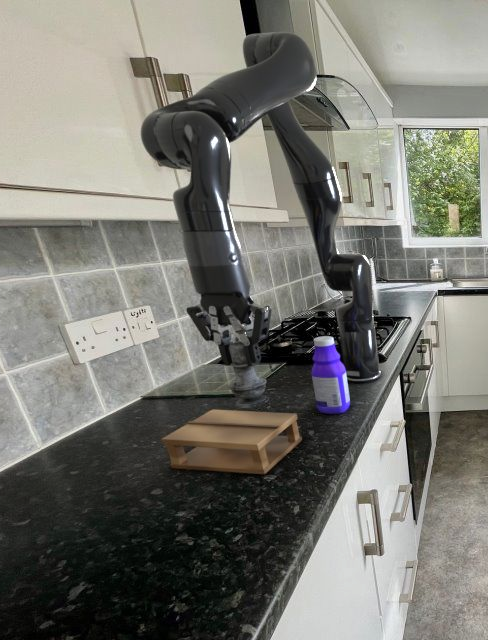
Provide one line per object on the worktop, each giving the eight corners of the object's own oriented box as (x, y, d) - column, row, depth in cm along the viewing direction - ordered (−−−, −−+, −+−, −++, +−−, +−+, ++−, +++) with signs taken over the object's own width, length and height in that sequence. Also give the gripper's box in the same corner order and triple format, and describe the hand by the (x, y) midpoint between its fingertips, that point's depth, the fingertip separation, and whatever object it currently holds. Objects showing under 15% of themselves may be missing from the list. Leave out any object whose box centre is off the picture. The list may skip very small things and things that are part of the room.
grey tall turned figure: (254, 410, 70) (237, 343, 66) (225, 407, 71) (206, 341, 67) (277, 396, 75) (263, 333, 71) (250, 394, 77) (234, 331, 72)
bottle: (355, 405, 98) (344, 335, 91) (344, 416, 92) (332, 342, 86) (326, 404, 98) (313, 334, 92) (314, 414, 93) (300, 341, 87)
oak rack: (220, 435, 84) (212, 407, 82) (302, 440, 83) (296, 412, 80) (171, 468, 73) (160, 437, 71) (264, 474, 71) (256, 443, 69)
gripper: (273, 259, 67) (293, 359, 73) (194, 258, 68) (221, 356, 75) (242, 264, 60) (267, 373, 66) (155, 263, 61) (188, 370, 68)
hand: (242, 364), depth 71 cm, fingers closed on grey tall turned figure, 3 cm apart
